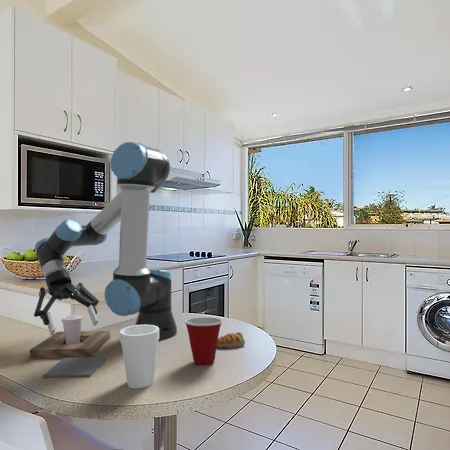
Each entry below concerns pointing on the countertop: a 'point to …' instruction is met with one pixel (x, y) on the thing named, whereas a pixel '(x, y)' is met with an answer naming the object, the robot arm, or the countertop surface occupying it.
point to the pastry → (231, 340)
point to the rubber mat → (75, 367)
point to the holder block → (70, 345)
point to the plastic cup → (203, 338)
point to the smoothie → (72, 327)
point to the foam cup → (139, 354)
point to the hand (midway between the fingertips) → (75, 327)
